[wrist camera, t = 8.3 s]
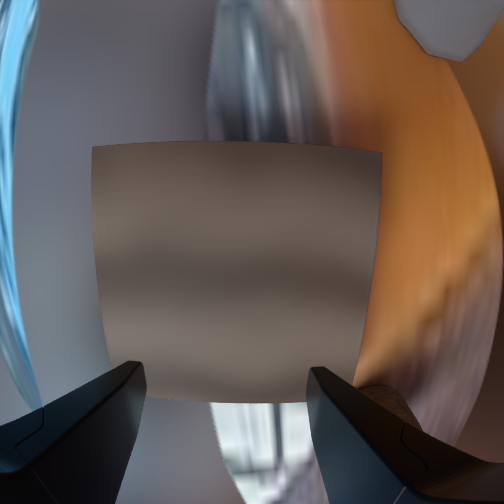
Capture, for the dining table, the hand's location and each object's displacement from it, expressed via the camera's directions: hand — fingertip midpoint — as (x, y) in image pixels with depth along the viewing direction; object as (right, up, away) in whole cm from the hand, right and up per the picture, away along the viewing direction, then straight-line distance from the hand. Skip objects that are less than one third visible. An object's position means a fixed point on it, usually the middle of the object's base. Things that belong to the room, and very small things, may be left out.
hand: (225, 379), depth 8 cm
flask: (+13, +20, +6) cm, 24 cm away
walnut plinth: (0, +2, +9) cm, 10 cm away
